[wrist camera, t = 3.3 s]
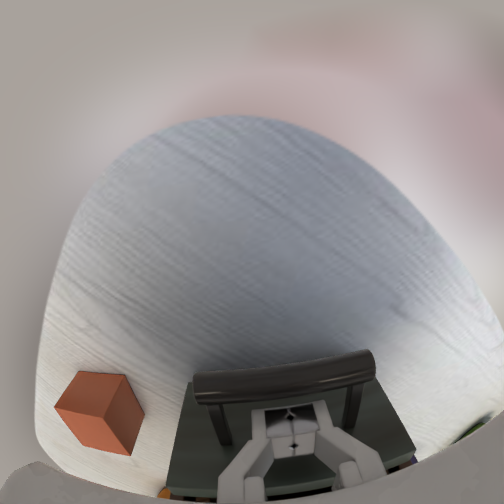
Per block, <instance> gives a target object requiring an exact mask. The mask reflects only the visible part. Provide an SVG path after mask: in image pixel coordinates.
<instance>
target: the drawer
mask: <svg viewBox="0 0 504 504" xmlns="http://www.w3.org/2000/svg"><path fill="white" fill-rule="evenodd" d="M375 374H376V365H375V360H374V357H373V354H372V353H371V351H370V350H368V349H364V350H360V351H356V352H351V353H347V354H342V355H337V356H332V357H326V358H321V359H315V360H309V361H303V362H297V363H290V364H283V365H275V366H267V367H258V368H248V369H237V370H223V371H206V372H196V373H195V374H194V377H193V382H188V385H187V389H186V393H185V397H184V401H183V406H182V410H181V415H180V419H179V423H178V428H177V432H176V437H175V442H174V446H173V451H172V456H171V461H170V465H169V470H168V475H167V480H166V487H167V488H168V489H169V491H170V492H171V493H172V494H173V495H180V496H191V497H196V502H203V503H217V492H218V477H219V476H220V475H221V473H222V472H223V471H224V470H225V469H226V468H227V466H228V465H229V464H230V463H231V462H232V460H233V459H234V458H235V457H236V456H237V454H238V453H239V452H240V451H241V449H242V448H243V447H244V446H245V444H246V443H247V442H248V440H252V417H251V412H252V410H254V409H265V408H276V407H285V406H290V405H296V404H302V403H308V402H314V401H319V400H324V401H325V403H326V406H327V409H328V412H329V415H330V418H331V420H332V423H333V426H334V427H338V428H340V429H341V430H343V431H344V432H346V433H348V434H349V435H351V436H352V437H354V438H355V439H357V440H359V441H360V442H362V443H364V444H365V445H367V446H368V447H370V448H372V449H374V450H375V451H377V452H378V454H379V456H380V458H381V461H382V463H383V465H384V468H385V470H386V473H387V475H389V472H388V469H390V468H393V467H395V466H398V465H400V464H403V463H405V462H408V461H409V460H410V459H411V458H412V456H413V454H414V453H415V451H416V447H415V446H414V444H413V442H412V440H411V438H410V436H409V435H408V433H407V431H406V429H405V427H404V425H403V424H402V422H401V420H400V418H399V417H398V415H397V413H396V411H395V410H394V408H393V406H392V404H391V403H390V401H389V399H388V397H387V396H386V394H385V392H384V391H383V389H382V387H381V385H380V384H379V382H378V380H377V379H376V377H375ZM335 477H336V473H335V472H334V471H332V470H331V469H330V468H329V467H328V466H327V465H325V464H324V463H323V462H322V461H321V460H320V459H319V458H318V457H316V456H315V455H314V454H309V455H303V456H295V457H289V458H283V459H275V460H274V461H273V463H272V465H271V466H270V468H269V470H268V471H267V473H266V474H265V476H264V478H263V481H264V485H265V490H266V494H267V498H268V501H278V500H287V499H294V498H301V497H307V496H312V495H318V494H322V493H327V492H332V489H331V488H332V486H333V483H334V480H335Z"/></svg>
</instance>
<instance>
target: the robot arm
mask: <svg viewBox="0 0 504 504" xmlns="http://www.w3.org/2000/svg"><path fill="white" fill-rule="evenodd" d="M251 417H252V440H248V442H247V443H246V444H245V446H244V447H243V448H242V449H241V451H240V452H239V453H238V454H237V456H236V457H235V458H234V459H233V460H232V462H231V463H230V464H229V465H228V466H227V468H226V469H225V470H224V471H223V472H222V473H221V475H220V476H219V477H218V492H217V503H203V502H189V501H179V500H170V499H163V498H157V497H151V496H145V495H140V494H135V493H130V492H126V491H122V490H118V489H114V488H110V487H107V486H103V485H100V484H96V483H93V482H90V481H87V480H84V479H81V478H78V477H76V476H73V475H70V474H68V473H65V472H63V471H60V470H57V469H55V468H53V467H51V466H49V465H46V464H44V463H42V462H34V463H31V464H28V465H26V466H24V467H22V468H19V469H17V470H15V471H14V472H13V473H12V474H11V475H10V476H9V478H8V479H7V480H6V482H5V484H4V485H3V487H2V489H1V491H0V504H504V411H502V412H501V413H500V414H498V415H497V416H496V417H494V418H493V419H492V420H490V421H489V422H487V423H486V424H485V425H483V426H482V427H480V428H479V429H477V430H476V431H474V432H473V433H471V434H469V435H468V436H466V437H465V438H463V439H461V440H460V441H458V442H456V443H455V444H453V445H451V446H449V447H447V448H446V449H444V450H442V451H440V452H438V453H436V454H434V455H432V456H430V457H428V458H426V459H424V460H422V461H420V462H418V463H415V464H413V465H411V466H409V467H406V468H404V469H401V470H399V471H396V472H394V473H391V474H389V475H387V473H386V470H385V468H384V465H383V463H382V461H381V458H380V456H379V454H378V452H377V451H375V450H374V449H372V448H370V447H368V446H367V445H365V444H364V443H362V442H360V441H359V440H357V439H355V438H354V437H352V436H351V435H349V434H348V433H346V432H344V431H343V430H341V429H340V428H338V427H334V426H333V423H332V420H331V418H330V415H329V412H328V409H327V406H326V403H325V401H324V400H319V401H314V402H308V403H302V404H296V405H290V406H285V407H276V408H265V409H254V410H252V412H251ZM309 454H314V455H315V456H316V457H318V458H319V459H320V460H321V461H322V462H323V463H324V464H325V465H327V466H328V467H329V468H330V469H331V470H332V471H334V472H335V473H336V477H335V480H334V483H333V486H332V488H331V489H332V492H327V493H322V494H318V495H312V496H307V497H301V498H294V499H287V500H278V501H268V498H267V494H266V490H265V485H264V481H263V478H264V476H265V474H266V473H267V471H268V470H269V468H270V466H271V465H272V463H273V461H274V460H275V459H283V458H289V457H295V456H303V455H309Z"/></svg>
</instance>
